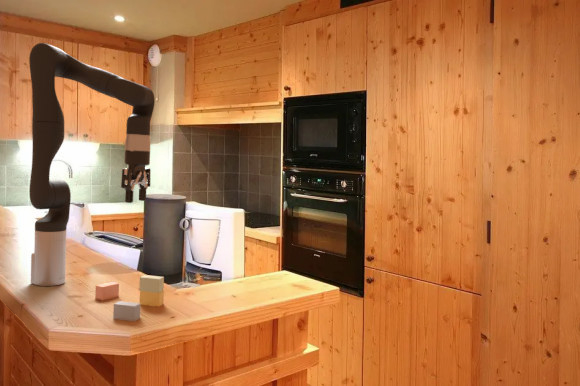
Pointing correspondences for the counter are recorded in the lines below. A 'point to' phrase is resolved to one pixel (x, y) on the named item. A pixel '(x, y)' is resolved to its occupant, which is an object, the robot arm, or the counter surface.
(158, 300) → the mustard brick
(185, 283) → the mounting bracket
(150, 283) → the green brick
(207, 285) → the counter surface
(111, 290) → the terracotta brick
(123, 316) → the slate brick
